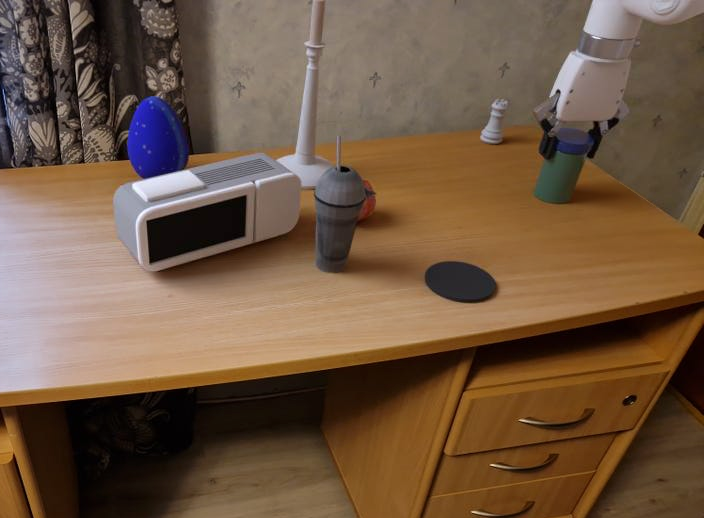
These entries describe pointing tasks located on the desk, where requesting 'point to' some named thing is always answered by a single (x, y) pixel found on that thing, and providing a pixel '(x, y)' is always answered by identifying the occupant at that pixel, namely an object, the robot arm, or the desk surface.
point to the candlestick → (310, 111)
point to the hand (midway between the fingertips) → (565, 155)
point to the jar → (559, 177)
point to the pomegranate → (367, 201)
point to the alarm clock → (206, 210)
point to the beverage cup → (337, 214)
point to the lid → (574, 141)
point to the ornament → (156, 140)
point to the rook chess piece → (495, 123)
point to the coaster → (460, 281)
